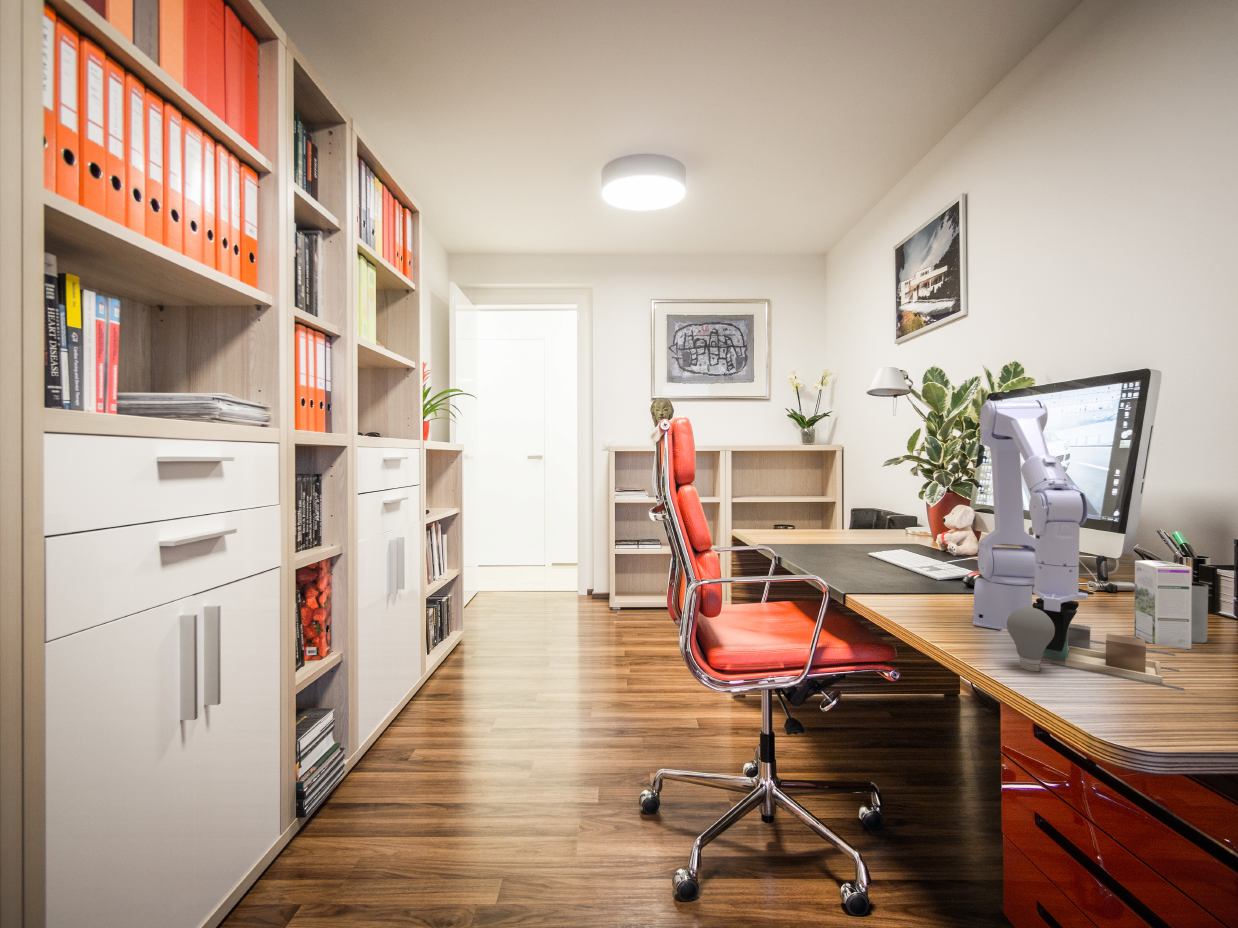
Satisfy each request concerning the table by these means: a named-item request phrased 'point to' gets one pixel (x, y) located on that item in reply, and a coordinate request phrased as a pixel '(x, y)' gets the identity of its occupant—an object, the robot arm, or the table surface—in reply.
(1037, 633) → the light bulb
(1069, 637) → the cream flat panel
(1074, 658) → the cream sliding tray
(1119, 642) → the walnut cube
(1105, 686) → the table surface
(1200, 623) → the grey cylinder
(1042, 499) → the robot arm
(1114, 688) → the table surface
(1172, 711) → the table surface
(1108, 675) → the lane rails
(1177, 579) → the syrup box
